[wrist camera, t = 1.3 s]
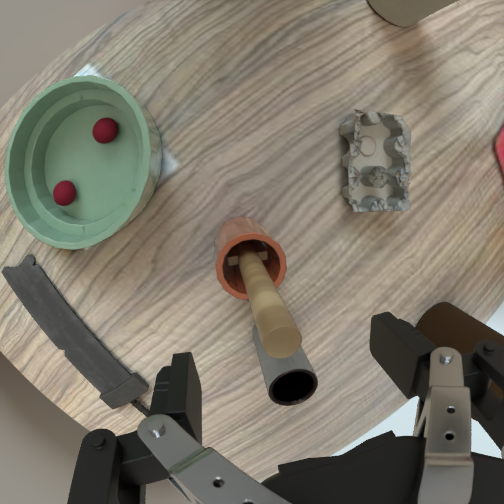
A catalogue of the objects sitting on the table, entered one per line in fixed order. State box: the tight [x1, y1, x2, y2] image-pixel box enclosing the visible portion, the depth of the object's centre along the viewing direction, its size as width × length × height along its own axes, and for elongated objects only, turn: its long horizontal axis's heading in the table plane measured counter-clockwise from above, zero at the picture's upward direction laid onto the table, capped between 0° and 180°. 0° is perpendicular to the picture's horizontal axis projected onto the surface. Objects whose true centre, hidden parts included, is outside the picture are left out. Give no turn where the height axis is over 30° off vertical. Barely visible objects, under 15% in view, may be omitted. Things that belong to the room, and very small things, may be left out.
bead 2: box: [92, 117, 118, 144], centre depth 24 cm, size 3×3×3 cm
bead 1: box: [53, 180, 76, 206], centre depth 25 cm, size 3×3×3 cm
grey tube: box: [253, 325, 318, 406], centre depth 29 cm, size 4×4×10 cm
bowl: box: [5, 75, 162, 250], centre depth 23 cm, size 15×15×6 cm
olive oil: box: [416, 302, 504, 421], centre depth 26 cm, size 11×11×25 cm
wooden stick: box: [227, 239, 302, 359], centre depth 21 cm, size 2×3×18 cm, turn 97°
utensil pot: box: [215, 217, 287, 300], centre depth 27 cm, size 5×5×8 cm
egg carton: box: [339, 109, 411, 212], centre depth 28 cm, size 11×8×4 cm
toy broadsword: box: [2, 255, 150, 417], centre depth 31 cm, size 7×35×2 cm, turn 34°
